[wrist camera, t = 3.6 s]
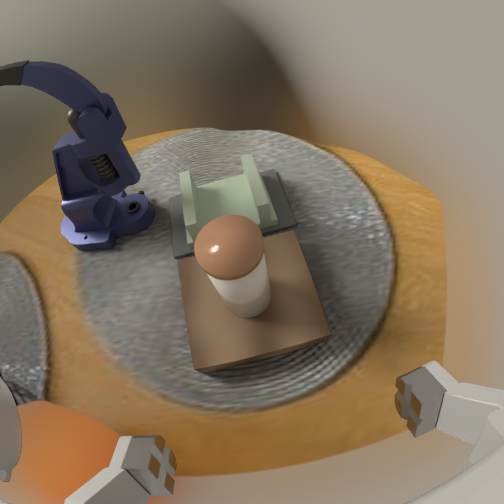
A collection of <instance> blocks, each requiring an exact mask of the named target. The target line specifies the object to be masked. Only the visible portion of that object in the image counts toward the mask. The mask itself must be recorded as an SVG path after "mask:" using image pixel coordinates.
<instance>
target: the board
mask: <svg viewBox="0 0 504 504" xmlns="http://www.w3.org/2000/svg"><path fill="white" fill-rule="evenodd" d="M263 241H264V256H265V262H266V267H267V273H268V278H269V284H270V290H271V300H270V303H269V305H268V307H267V308H266V310H265V311H264V312H262V313H261V314H259V315H258V316H255V317H252V318H242V317H238V316H236V315H234V314H233V313H232V312H230V310H229V309H228V308H227V306H226V304H225V303H224V301H223V300H222V298H221V296H220V295H219V293H218V291H217V290H216V288H215V286H214V285H213V283H212V281H211V280H210V278H209V276H208V275H207V273H206V272H205V271H204V270H203V269H202V267H201V266H200V264H199V262H198V261H197V259H196V256H194V257H190V258H187V259H183V260H180V261H178V268H179V276H180V284H181V291H182V298H183V305H184V312H185V319H186V325H187V331H188V337H189V343H190V349H191V355H192V360H193V366H194V370H196V371H199V372H201V373H205V372H210V371H215V370H220V369H224V368H229V367H233V366H237V365H242V364H246V363H250V362H254V361H258V360H262V359H266V358H270V357H273V356H277V355H281V354H284V353H288V352H291V351H295V350H298V349H302V348H305V347H308V346H312V345H315V344H318V343H321V342H324V341H327V340H328V339H329V337H330V336H331V331H330V328H329V325H328V322H327V319H326V317H325V314H324V311H323V308H322V305H321V302H320V299H319V296H318V294H317V291H316V288H315V285H314V282H313V280H312V277H311V274H310V271H309V269H308V266H307V263H306V261H305V258H304V255H303V253H302V250H301V247H300V245H299V242H298V239H297V237H296V234H295V232H294V230H290V231H286V232H283V233H279V234H275V235H271V236H268V237H264V238H263Z"/></svg>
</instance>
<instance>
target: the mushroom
mask: <svg viewBox="0 0 504 504" xmlns="http://www.w3.org/2000/svg"><path fill="white" fill-rule="evenodd" d="M194 252H195V256H196V259H197V261H198V262H199V264H200V266H201V267H202V269H203V270H204V271H205V272H206V273H207V275H208V276H209V278H210V280H211V281H212V283H213V285H214V286H215V288H216V290H217V291H218V293H219V295H220V296H221V298H222V300H223V301H224V303H225V304H226V306H227V308H228V309H229V310H230V312H232V313H233V314H234V315H236V316H238V317H242V318H252V317H255V316H258V315H259V314H261V313H262V312H264V311H265V310H266V308H267V307H268V305H269V303H270V300H271V290H270V284H269V278H268V273H267V267H266V262H265V256H264V241H263V236H262V233H261V230H260V228H259V227H258V226H257V224H256V223H255V222H253V221H252V220H251V219H249V218H247V217H244V216H240V215H225V216H221V217H218V218H215V219H213V220H212V221H210V222H209V223H207V224H206V225H205V226H204V227H203V228H202V229H201V230H200V232H199V233H198V235H197V237H196V240H195V244H194Z"/></svg>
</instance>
